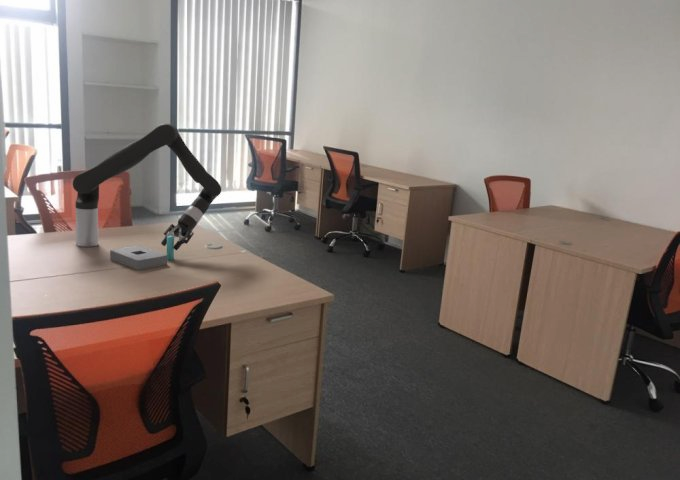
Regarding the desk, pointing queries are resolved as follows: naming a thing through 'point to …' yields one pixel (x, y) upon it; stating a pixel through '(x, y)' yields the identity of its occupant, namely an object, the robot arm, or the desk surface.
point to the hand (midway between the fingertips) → (168, 247)
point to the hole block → (138, 257)
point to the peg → (170, 247)
